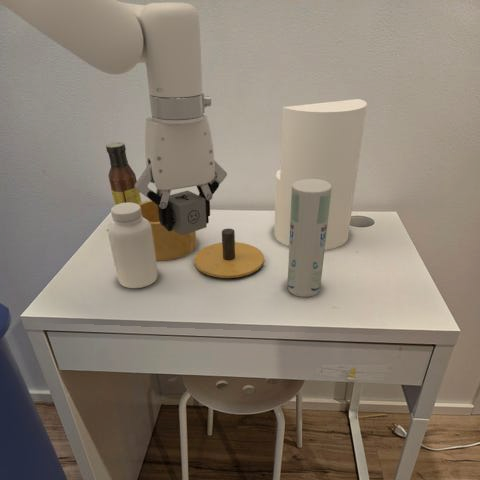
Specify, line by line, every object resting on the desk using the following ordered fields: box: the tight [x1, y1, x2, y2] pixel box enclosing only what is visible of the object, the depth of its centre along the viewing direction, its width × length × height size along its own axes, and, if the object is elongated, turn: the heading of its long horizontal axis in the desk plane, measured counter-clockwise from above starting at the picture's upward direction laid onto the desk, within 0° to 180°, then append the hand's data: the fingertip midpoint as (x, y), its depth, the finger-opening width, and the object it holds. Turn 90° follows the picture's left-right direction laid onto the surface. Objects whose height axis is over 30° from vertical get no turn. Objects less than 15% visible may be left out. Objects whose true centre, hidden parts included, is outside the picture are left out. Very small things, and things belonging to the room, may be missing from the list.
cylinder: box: [273, 98, 368, 251], centre depth 94 cm, size 17×17×28 cm
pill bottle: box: [107, 203, 159, 289], centre depth 83 cm, size 8×8×15 cm
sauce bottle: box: [105, 141, 143, 206], centre depth 101 cm, size 7×6×20 cm
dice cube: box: [168, 189, 208, 235], centre depth 72 cm, size 5×5×5 cm
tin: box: [138, 199, 197, 261], centre depth 96 cm, size 14×14×8 cm
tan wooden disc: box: [193, 228, 265, 279], centre depth 90 cm, size 15×15×7 cm
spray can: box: [287, 179, 332, 298], centre depth 77 cm, size 6×6×20 cm
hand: (185, 223), depth 74 cm, fingers closed on dice cube, 5 cm apart
